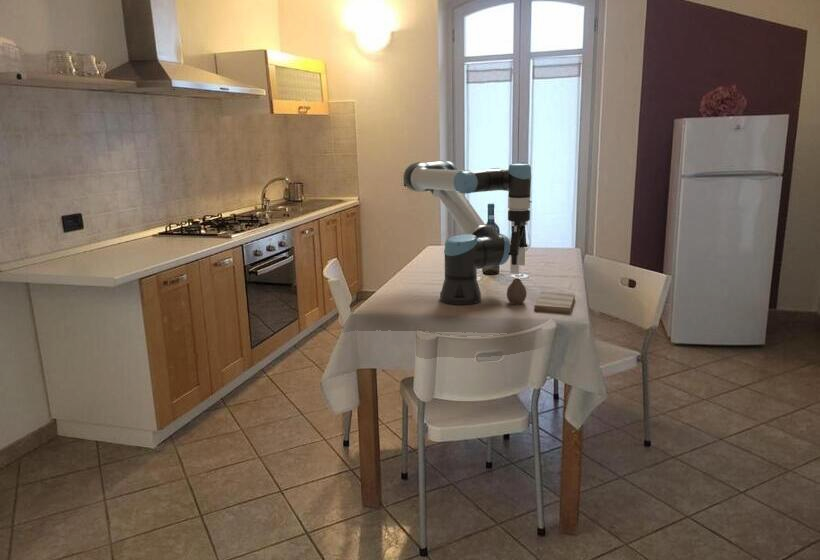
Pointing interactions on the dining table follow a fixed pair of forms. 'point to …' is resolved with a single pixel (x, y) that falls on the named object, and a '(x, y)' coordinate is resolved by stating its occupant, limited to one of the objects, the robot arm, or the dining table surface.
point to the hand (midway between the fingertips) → (517, 269)
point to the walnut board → (555, 302)
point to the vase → (516, 292)
